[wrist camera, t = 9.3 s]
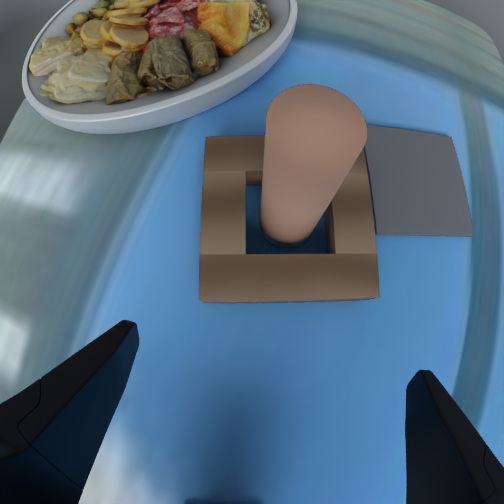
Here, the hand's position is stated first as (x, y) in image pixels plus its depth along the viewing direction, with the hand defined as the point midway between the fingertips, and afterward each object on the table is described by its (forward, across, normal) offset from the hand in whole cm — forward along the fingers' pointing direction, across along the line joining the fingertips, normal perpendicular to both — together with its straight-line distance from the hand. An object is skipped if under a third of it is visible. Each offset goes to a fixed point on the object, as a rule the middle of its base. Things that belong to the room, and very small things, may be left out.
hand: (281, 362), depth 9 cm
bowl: (+30, +17, -10) cm, 36 cm away
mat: (+20, -11, -1) cm, 23 cm away
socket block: (+16, 0, +4) cm, 16 cm away
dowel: (+16, 0, +4) cm, 16 cm away
